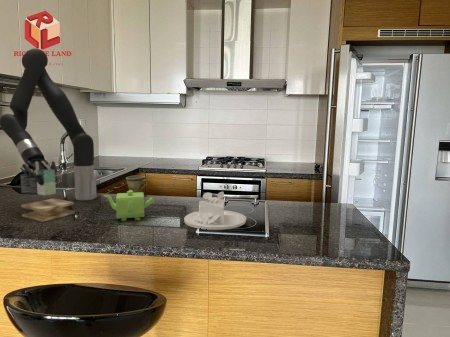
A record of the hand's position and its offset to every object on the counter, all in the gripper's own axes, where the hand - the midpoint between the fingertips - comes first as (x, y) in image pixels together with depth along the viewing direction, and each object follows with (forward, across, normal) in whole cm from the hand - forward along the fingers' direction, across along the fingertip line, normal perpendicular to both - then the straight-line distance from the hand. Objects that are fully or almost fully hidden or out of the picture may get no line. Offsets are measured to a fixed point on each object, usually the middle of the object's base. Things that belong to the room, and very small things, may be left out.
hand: (49, 183), depth 134 cm
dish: (+53, +30, -34) cm, 70 cm away
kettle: (+31, +15, -12) cm, 36 cm away
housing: (+2, 0, +5) cm, 5 cm away
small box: (-26, +24, +46) cm, 58 cm away
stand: (+9, 0, +11) cm, 14 cm away
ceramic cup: (+12, +48, +8) cm, 50 cm away
